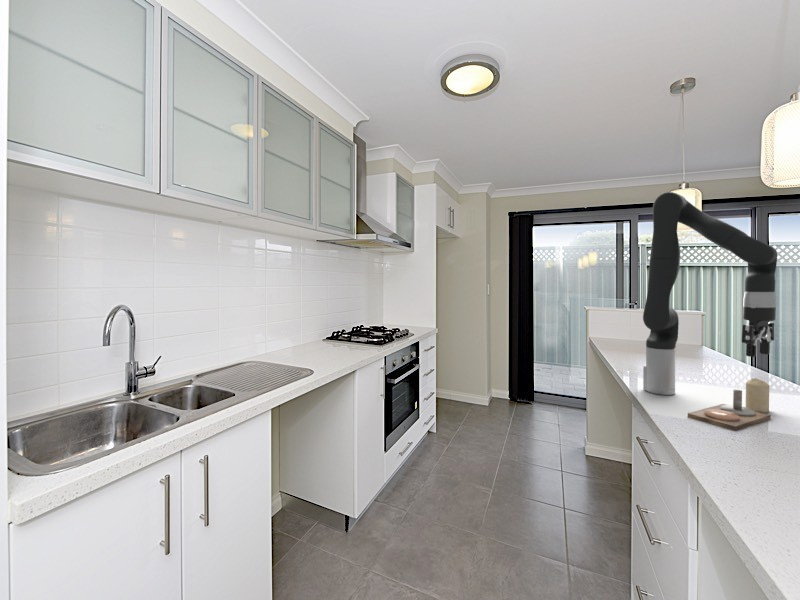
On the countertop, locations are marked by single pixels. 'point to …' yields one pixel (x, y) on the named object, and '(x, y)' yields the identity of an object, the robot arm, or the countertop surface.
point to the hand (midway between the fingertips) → (757, 355)
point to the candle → (757, 395)
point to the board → (745, 414)
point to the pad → (722, 415)
